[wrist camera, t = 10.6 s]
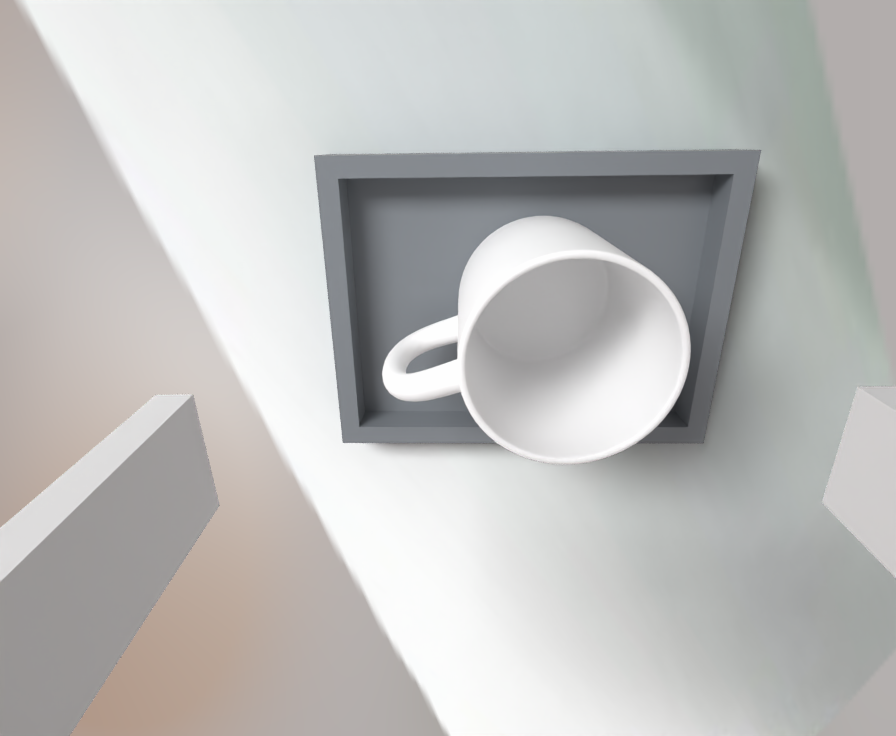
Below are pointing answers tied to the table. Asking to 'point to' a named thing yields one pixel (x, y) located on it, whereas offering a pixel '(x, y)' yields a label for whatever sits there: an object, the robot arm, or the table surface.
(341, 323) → the grey tray
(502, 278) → the cup
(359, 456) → the table surface
